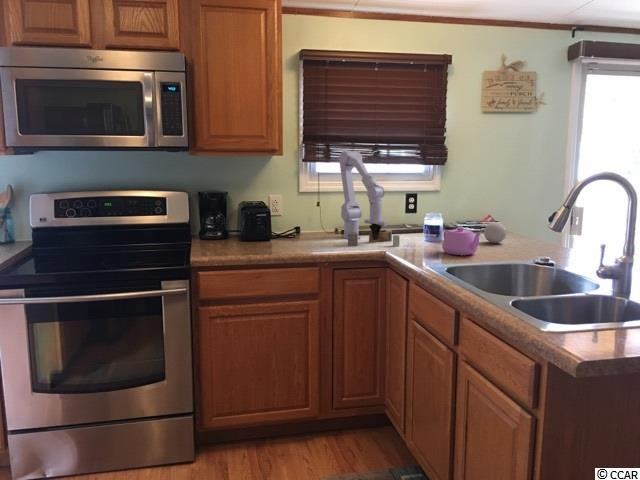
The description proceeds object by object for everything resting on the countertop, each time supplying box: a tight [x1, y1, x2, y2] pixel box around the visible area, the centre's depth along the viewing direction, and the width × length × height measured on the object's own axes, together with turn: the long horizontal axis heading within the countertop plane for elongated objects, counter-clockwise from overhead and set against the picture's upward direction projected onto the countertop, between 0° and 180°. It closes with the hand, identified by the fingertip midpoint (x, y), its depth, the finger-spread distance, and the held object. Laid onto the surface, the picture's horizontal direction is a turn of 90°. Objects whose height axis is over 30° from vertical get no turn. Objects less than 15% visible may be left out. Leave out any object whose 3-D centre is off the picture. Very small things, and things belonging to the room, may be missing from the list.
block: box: [347, 232, 359, 247], centre depth 241 cm, size 4×4×6 cm
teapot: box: [442, 226, 484, 256], centre depth 219 cm, size 20×13×12 cm, turn 39°
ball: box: [483, 221, 507, 244], centre depth 243 cm, size 10×10×10 cm
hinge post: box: [385, 229, 393, 242], centre depth 253 cm, size 2×2×5 cm
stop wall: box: [392, 234, 400, 247], centre depth 239 cm, size 2×2×5 cm
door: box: [368, 231, 392, 243], centre depth 250 cm, size 11×1×4 cm, turn 102°
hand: (375, 239), depth 248 cm, fingers closed
